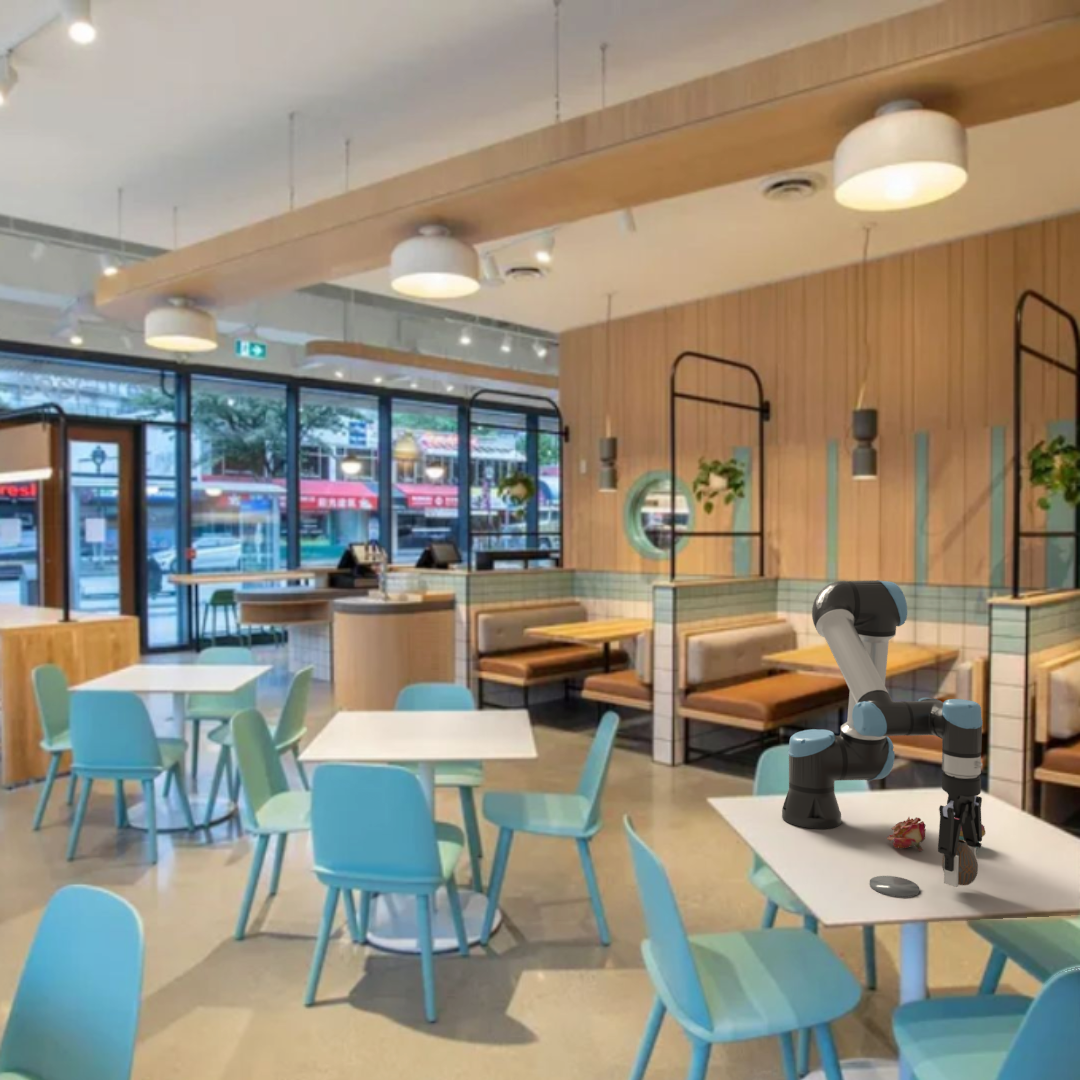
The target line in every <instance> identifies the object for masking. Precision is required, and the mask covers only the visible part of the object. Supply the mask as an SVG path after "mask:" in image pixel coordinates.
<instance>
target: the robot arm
mask: <svg viewBox="0 0 1080 1080" xmlns="http://www.w3.org/2000/svg"><path fill="white" fill-rule="evenodd" d="M907 617H908V603H907V600H906V596H905V594H904V592H903V591H902V588H901V587H900V586H899V585H898V584H897V583H896V582H893V581H886V580H885V581H884V580H880V579H879V580H849V581H846V580H839V581H834V582H831V583H829V584H827V585H825V586H824V587H822V589H821V590H820V591H819V592H818V593H817V595H816V596H815V598H814V600H813V604H812V608H811V618H812V622H813V626H814V628H815V630H816V632H817V633H818V635H820V636H821V637H823V638H824V639H825V641H826V642H827V646H828V647H829V649H830V651H831V653H832V656H833V658H834V659H835V662H836V664H837V666H838V668H839V670H840V672H841V675H842V677H843V678H844V681H845V683H846V686H847V688H848V690H849V694H848V695H849V696H848V707H847V708H848V709H847V721H846V722H844V723H843V724H842V725H840V734H839V735H835V733H834V732H833V731H831V730H829V729H818V728H817V729H815V728H812V729H804V730H800V731H798V732H795V733H794V734H791V736H790V738H789V743H788V745H789V746H788V751H787V753H788V789H787V790H788V791H787V793H786V796H785V800H784V803H783V805H782V808H781V817H782V820H783V821H784V822H786V823H788V824H790V825H794V826H796V827H801V828H805V829H822V830H823V829H832V828H836V827H839V826H840V825H841V824H842V812H841V811H840V806H839V804H838V800H837V797H836V793H835V782H836V781H837V782H838V781H873V780H882V779H885V778H886V777H888V776H889V774H890V773H891V772H892V770H893V767H894V764H895V751H894V748H895V747H894V744H893V741H892V739H891V738H890V737H895V736H896V737H897V736H898V737H901V736H907V737H908V736H911V737H913V736H935V737H937V738H939V739H942V742H941V743H942V746H941V747H942V748H941V749H942V753H941V755H942V756H941V770H942V771H943V772H942V773H941V788H942V791H944V792H946V794H947V795H948V796H947V801H946V804H945V805H941V804H940V805H939V809H938V812H939V826H938V827H939V828H938V831H939V832H938V844H937V845H938V846H937V851H938V853H940V854H943V855H944V871H943V884H945V885H948V886H951V887H954V888H959V885H958V863H959V856H957V855H956V852H957V847H958V841H959V836H960V831H961V826H962V832H963V837H964V841H966V842H967V845H968V847H969V848H970V849H971V851H972V852H973V853H974V855H975V857H976V858H977V849H976V847H977V848H979V849H980V848H982V843H981V842H982V841H983V837H982V824H983V822H982V801H983V798H982V797H981V796H979V795H980V794H981V792H982V788H981V787H982V778H981V776H980V775H981V773H982V772H981V771H982V767H983V762H982V744H983V743H982V741H983V735H982V733H983V717H982V707H981V705H980V704H979V703H978V702H976V701H973V700H969V699H962V698H952V699H951V698H949V699H946V700H944V701H941V700H938V699H936V698H931V697H921V698H919V699H917V700H914V701H913V700H912V701H910V700H909V701H907V700H906V701H902V700H901V701H896V700H895V701H894V700H893V699H892V697H891V695H890V694H889V691H888V690H887V688H886V679H887V678H886V675H887V666H888V656H889V655H888V653H889V644H890V643H889V642H890V640H891V639H893V638H894V637H895V636H896V632H897V627H901V626H903V625H904V624H905V623H906V621H907V619H908V618H907ZM954 818H958V819H959V820H958V819H954ZM978 841H979V843H978Z"/></svg>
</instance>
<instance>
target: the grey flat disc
mask: <svg viewBox="0 0 1080 1080" xmlns="http://www.w3.org/2000/svg"><path fill="white" fill-rule="evenodd" d="M869 887H870V888H871V889H873V890H874V891H875V892H877V893H878V894H882V895H885V896H890V897H897V898H911V897H914V896H917V895H918V894H920V886H919V885H918V883H915V882H914V881H912V880H910V879H907V878H904V877H899V876H896V875H895V876H894V875H878V876H877V875H876V876H874V877H872V878H870V879H869Z"/></svg>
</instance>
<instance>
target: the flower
mask: <svg viewBox="0 0 1080 1080" xmlns="http://www.w3.org/2000/svg"><path fill="white" fill-rule="evenodd" d="M890 829H891V830H892V831H893V833H892V834H889V835H888V836H887V837H886V839H887V840H888V841H889V842H891V841H893V842H892V845H893V847H894V848H895V849H909V848H910V847H911V848H912V847H914V846H915V848H917V850H918V852H921V851H923V850H924V849H923V848H922V847H921V845H920V844H921V843H922V842H924V841H925V840H926V831H927V830H926V824H925V821H923V820H922V819H921V818H920V817H915V818H913V817H912V818H911V819H910V816H908V817H907V819H906V820H903V821H899V822H898V823H895V825H894V826H893V827H891V828H890Z"/></svg>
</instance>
